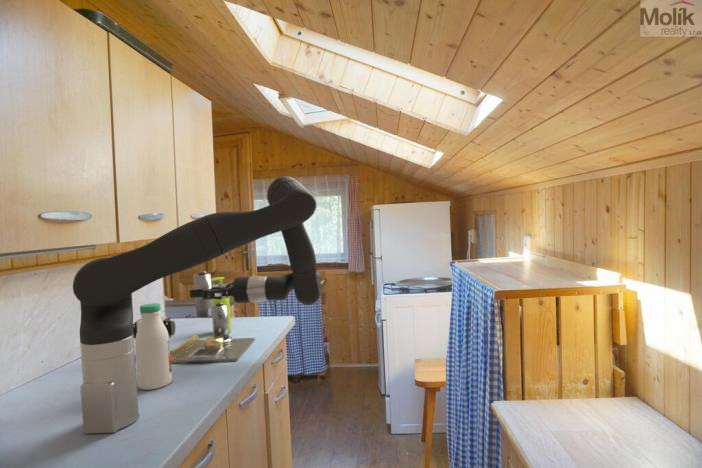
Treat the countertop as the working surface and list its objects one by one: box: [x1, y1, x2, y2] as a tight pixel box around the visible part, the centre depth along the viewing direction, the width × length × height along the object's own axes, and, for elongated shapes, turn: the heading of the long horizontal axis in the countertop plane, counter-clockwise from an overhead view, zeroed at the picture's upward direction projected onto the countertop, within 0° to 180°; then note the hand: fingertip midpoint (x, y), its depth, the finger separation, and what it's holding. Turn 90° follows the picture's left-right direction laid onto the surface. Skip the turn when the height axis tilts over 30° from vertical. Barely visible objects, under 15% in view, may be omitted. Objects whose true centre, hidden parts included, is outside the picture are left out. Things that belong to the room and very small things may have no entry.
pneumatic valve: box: [133, 316, 176, 340], centre depth 126 cm, size 6×12×12 cm, turn 97°
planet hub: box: [193, 270, 214, 318], centre depth 120 cm, size 5×5×13 cm
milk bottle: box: [134, 302, 173, 391], centre depth 102 cm, size 8×8×20 cm
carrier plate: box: [170, 302, 256, 364], centre depth 127 cm, size 21×20×14 cm
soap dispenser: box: [211, 276, 232, 334], centre depth 148 cm, size 6×7×20 cm
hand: (194, 292), depth 120 cm, fingers closed on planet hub, 4 cm apart
